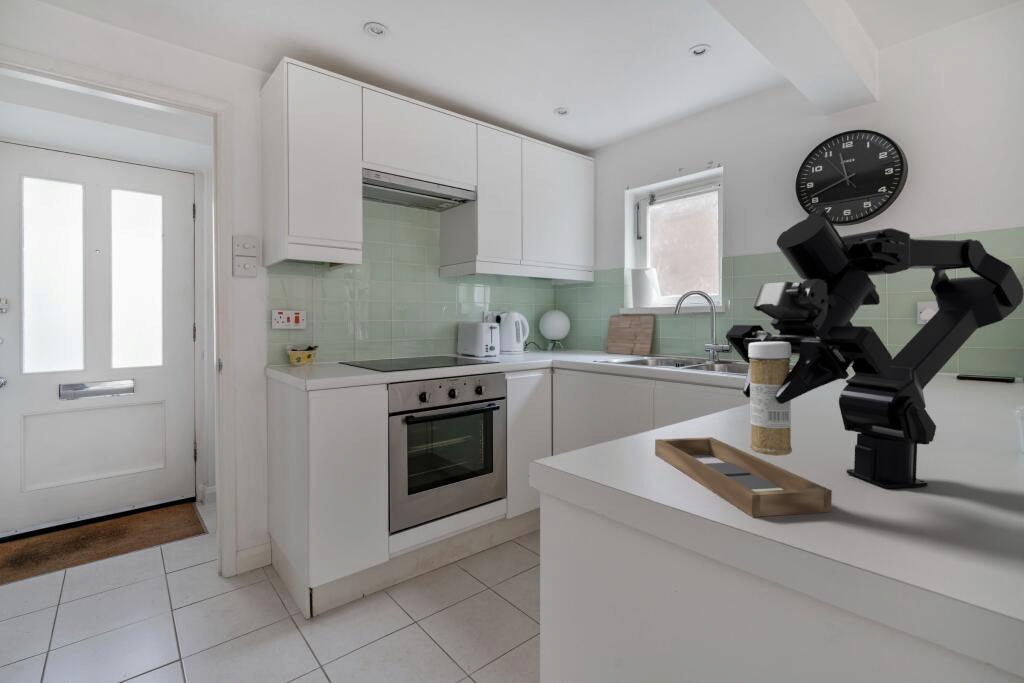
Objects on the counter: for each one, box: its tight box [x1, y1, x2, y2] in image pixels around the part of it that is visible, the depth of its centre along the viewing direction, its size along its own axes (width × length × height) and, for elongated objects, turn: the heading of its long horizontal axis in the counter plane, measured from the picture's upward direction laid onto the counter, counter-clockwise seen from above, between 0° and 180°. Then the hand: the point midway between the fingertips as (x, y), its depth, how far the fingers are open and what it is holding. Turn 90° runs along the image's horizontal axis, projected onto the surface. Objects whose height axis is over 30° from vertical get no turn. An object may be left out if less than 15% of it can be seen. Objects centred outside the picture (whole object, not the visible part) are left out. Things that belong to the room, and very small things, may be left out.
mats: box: [705, 462, 779, 490], centre depth 66 cm, size 8×11×1 cm
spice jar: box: [748, 342, 793, 457], centre depth 57 cm, size 5×5×14 cm
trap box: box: [654, 436, 833, 518], centre depth 66 cm, size 10×25×2 cm, turn 8°
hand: (761, 398), depth 57 cm, fingers closed on spice jar, 4 cm apart
